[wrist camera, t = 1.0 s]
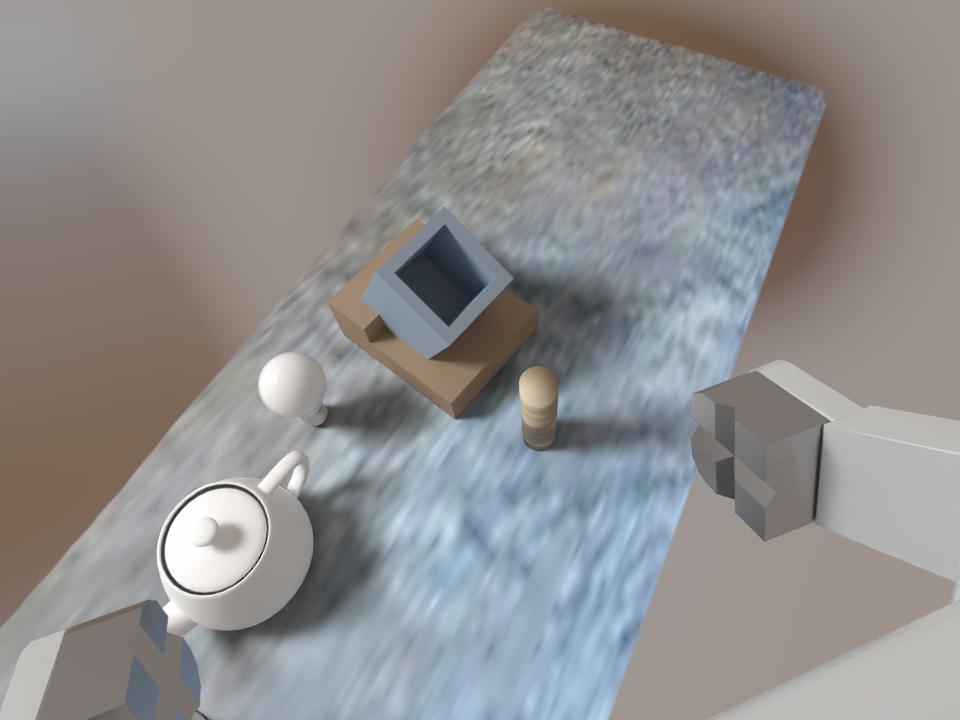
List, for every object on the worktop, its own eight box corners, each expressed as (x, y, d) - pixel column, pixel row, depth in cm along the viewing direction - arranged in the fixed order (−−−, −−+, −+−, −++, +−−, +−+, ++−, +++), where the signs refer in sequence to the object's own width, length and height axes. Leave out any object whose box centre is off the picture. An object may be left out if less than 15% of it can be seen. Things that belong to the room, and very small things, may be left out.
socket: (455, 419, 69) (432, 342, 54) (344, 335, 75) (298, 246, 61) (537, 328, 73) (535, 235, 59) (426, 256, 79) (400, 156, 65)
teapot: (276, 439, 69) (234, 396, 60) (373, 512, 65) (344, 477, 55) (115, 619, 62) (38, 602, 52) (211, 716, 57) (146, 717, 48)
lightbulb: (358, 413, 70) (329, 365, 60) (314, 456, 68) (276, 413, 58) (319, 379, 72) (285, 328, 63) (276, 420, 70) (233, 373, 61)
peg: (542, 457, 66) (542, 408, 55) (516, 438, 67) (511, 386, 57) (562, 432, 67) (566, 380, 56) (536, 414, 68) (535, 359, 58)
